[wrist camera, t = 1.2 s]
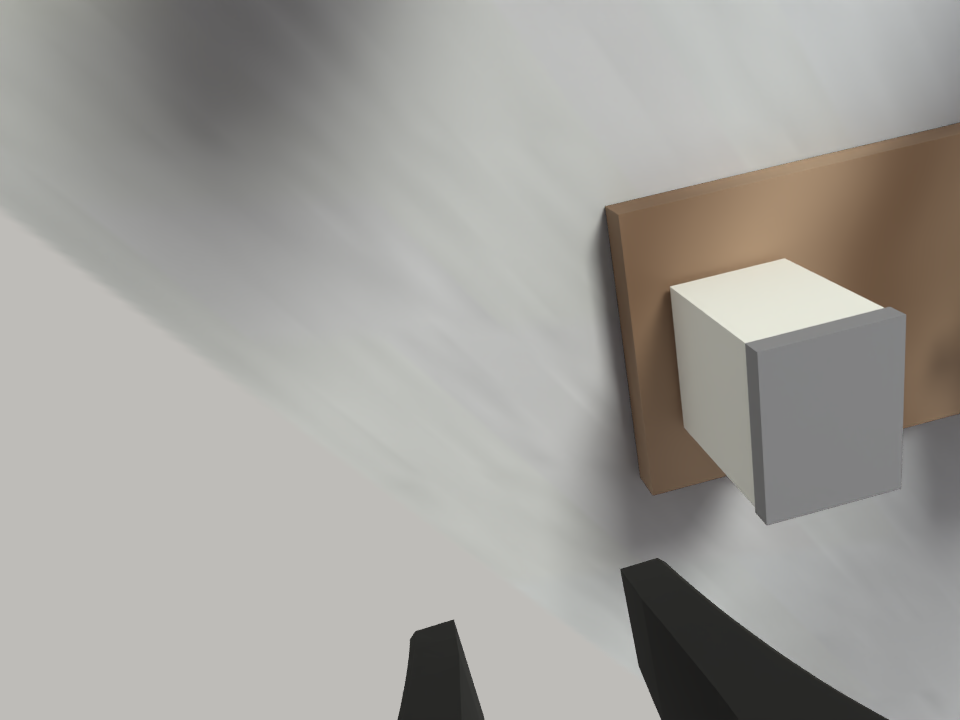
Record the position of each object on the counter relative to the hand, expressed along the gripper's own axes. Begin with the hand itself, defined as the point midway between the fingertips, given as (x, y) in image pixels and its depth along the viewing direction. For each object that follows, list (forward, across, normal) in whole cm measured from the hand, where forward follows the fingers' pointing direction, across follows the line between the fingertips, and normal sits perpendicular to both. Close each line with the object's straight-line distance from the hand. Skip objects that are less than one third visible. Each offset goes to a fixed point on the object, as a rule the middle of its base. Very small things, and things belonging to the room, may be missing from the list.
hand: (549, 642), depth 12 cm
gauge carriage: (+8, -7, +1) cm, 11 cm away
